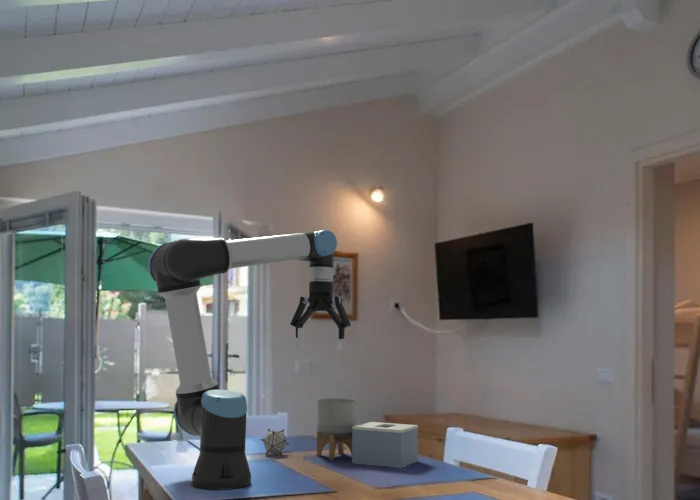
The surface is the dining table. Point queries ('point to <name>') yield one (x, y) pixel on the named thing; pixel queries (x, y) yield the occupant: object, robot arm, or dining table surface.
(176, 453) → the dining table surface
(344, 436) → the planter
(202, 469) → the robot arm
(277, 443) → the game die
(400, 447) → the coin box
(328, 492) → the dining table surface
